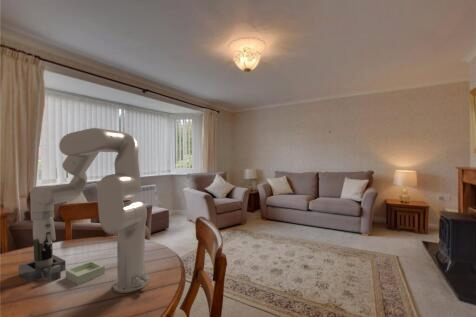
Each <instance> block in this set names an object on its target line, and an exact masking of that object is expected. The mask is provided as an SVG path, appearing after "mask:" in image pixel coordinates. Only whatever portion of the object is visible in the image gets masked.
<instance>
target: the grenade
mask: <svg viewBox="0 0 476 317" xmlns="http://www.w3.org/2000/svg"><path fill="white" fill-rule="evenodd" d="M35 237H36V236H35ZM33 239H34V238H33V237H32V241H33V261H35V269H36V268H39V267H40V268H42V272H43V269H45V268H48V267H53V255H54V254H53V246H52V249H51V250H52V258H50V259H47V260H44V261H42V253H41V251H43V250H42V244H40V243H39V242H38V241H39V240H37V239H35V241H34V240H33ZM45 242H47V241H44V243H45ZM44 245H47V244H44Z"/></svg>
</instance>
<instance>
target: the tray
mask: <svg viewBox="0 0 476 317" xmlns="http://www.w3.org/2000/svg"><path fill="white" fill-rule="evenodd" d="M105 272H106V271H105V265H104V264H101V263H99V262H96V261H94V260H90V261H87V262H84V263H82V264H79V265H75V266H73V267H70V268H68V269H65V279H67V280H69V281H70V282H72V283H73V284H76V285H77V286H79V285H81V284H84V283H86V282H88V281H91V280H93V279H95V278H97V277H100V276H103V275H105V274H106V273H105Z"/></svg>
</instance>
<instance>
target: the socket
mask: <svg viewBox="0 0 476 317" xmlns="http://www.w3.org/2000/svg"><path fill="white" fill-rule="evenodd" d="M56 265H60V266H61V272H64V271H66V260H65V259H63V258H62V257H58V255H55V254H53V266H56ZM18 275H20V276H19V277H20V278H22V279H23V280H25V281H26V282H28V283H29V284H30V283H33V282H36V281H38V280H42V278H43V271H42V268H40V267H39V268H36V269H35V261H34V260H32V261H28V262H24V263H21V264H18Z"/></svg>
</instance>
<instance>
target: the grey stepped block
mask: <svg viewBox="0 0 476 317" xmlns="http://www.w3.org/2000/svg"><path fill="white" fill-rule="evenodd" d="M61 272H62V271H61V266H60V265H56V266H53V267H48V268H45V269H43V271H42V278H44V279H45V280H47V283H51V282H55V281H57V280H60V279H61V277H62V276H61V274H62V273H61Z"/></svg>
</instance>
